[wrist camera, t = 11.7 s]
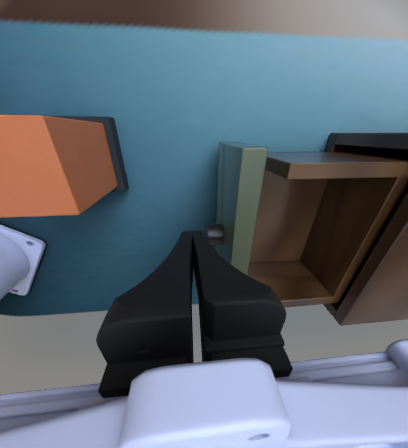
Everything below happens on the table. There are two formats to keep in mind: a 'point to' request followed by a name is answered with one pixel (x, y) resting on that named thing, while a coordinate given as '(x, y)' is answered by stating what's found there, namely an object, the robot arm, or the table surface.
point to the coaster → (110, 147)
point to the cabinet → (377, 244)
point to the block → (52, 165)
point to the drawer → (301, 216)
